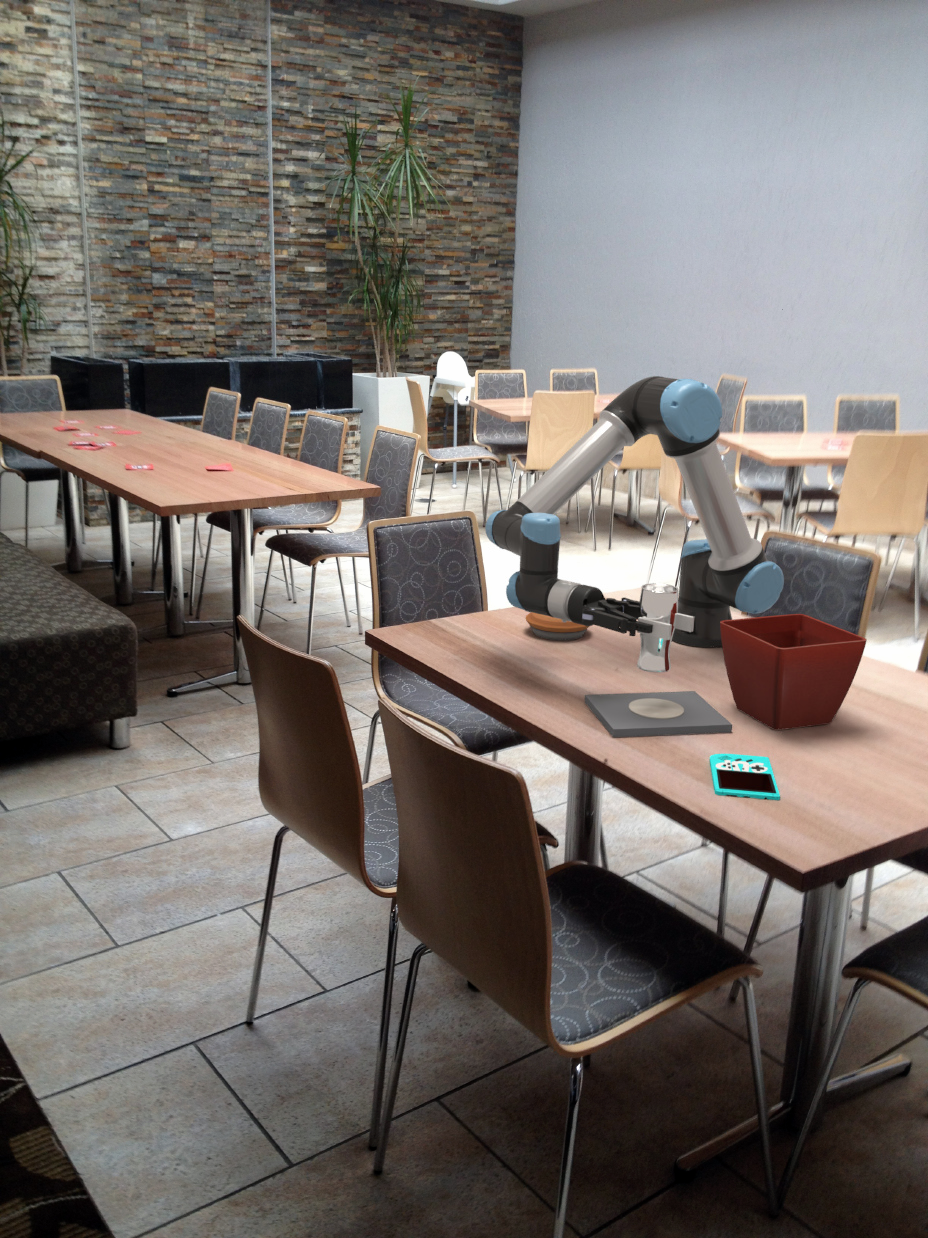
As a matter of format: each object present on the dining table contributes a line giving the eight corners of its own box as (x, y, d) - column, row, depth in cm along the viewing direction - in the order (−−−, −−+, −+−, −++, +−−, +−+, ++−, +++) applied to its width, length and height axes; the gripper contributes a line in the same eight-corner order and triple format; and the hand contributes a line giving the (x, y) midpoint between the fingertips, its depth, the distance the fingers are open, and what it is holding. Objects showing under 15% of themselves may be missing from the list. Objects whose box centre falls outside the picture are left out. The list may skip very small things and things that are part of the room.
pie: (595, 644, 246) (596, 623, 244) (526, 642, 246) (526, 621, 244) (588, 625, 260) (589, 605, 259) (523, 623, 261) (524, 603, 259)
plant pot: (709, 704, 209) (717, 619, 205) (792, 694, 216) (802, 612, 211) (770, 740, 192) (780, 648, 187) (858, 728, 199) (870, 639, 194)
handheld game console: (769, 763, 183) (770, 755, 183) (781, 804, 168) (782, 796, 168) (708, 758, 185) (708, 750, 184) (714, 798, 169) (715, 790, 169)
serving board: (693, 698, 212) (694, 689, 212) (731, 732, 195) (732, 723, 194) (584, 702, 208) (584, 693, 208) (613, 737, 191) (613, 727, 191)
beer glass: (671, 662, 202) (678, 584, 198) (674, 674, 196) (681, 593, 192) (633, 660, 203) (639, 582, 199) (635, 672, 197) (641, 591, 192)
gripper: (606, 613, 217) (708, 637, 202) (544, 632, 203) (648, 660, 188) (608, 576, 215) (712, 598, 200) (546, 592, 201) (652, 617, 186)
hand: (681, 628), depth 194 cm, fingers closed on beer glass, 7 cm apart
